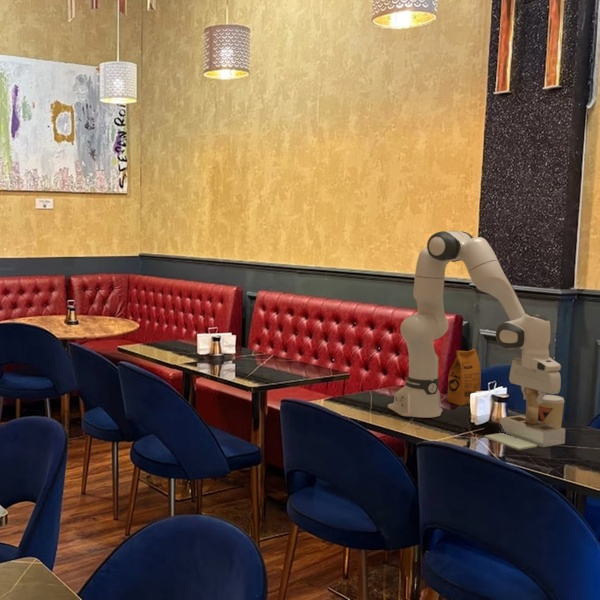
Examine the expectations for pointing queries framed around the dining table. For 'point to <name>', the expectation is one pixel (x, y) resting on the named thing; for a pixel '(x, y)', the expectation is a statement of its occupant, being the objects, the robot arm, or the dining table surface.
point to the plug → (532, 407)
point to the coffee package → (464, 377)
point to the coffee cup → (551, 410)
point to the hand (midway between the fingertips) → (532, 401)
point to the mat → (510, 441)
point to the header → (533, 431)
